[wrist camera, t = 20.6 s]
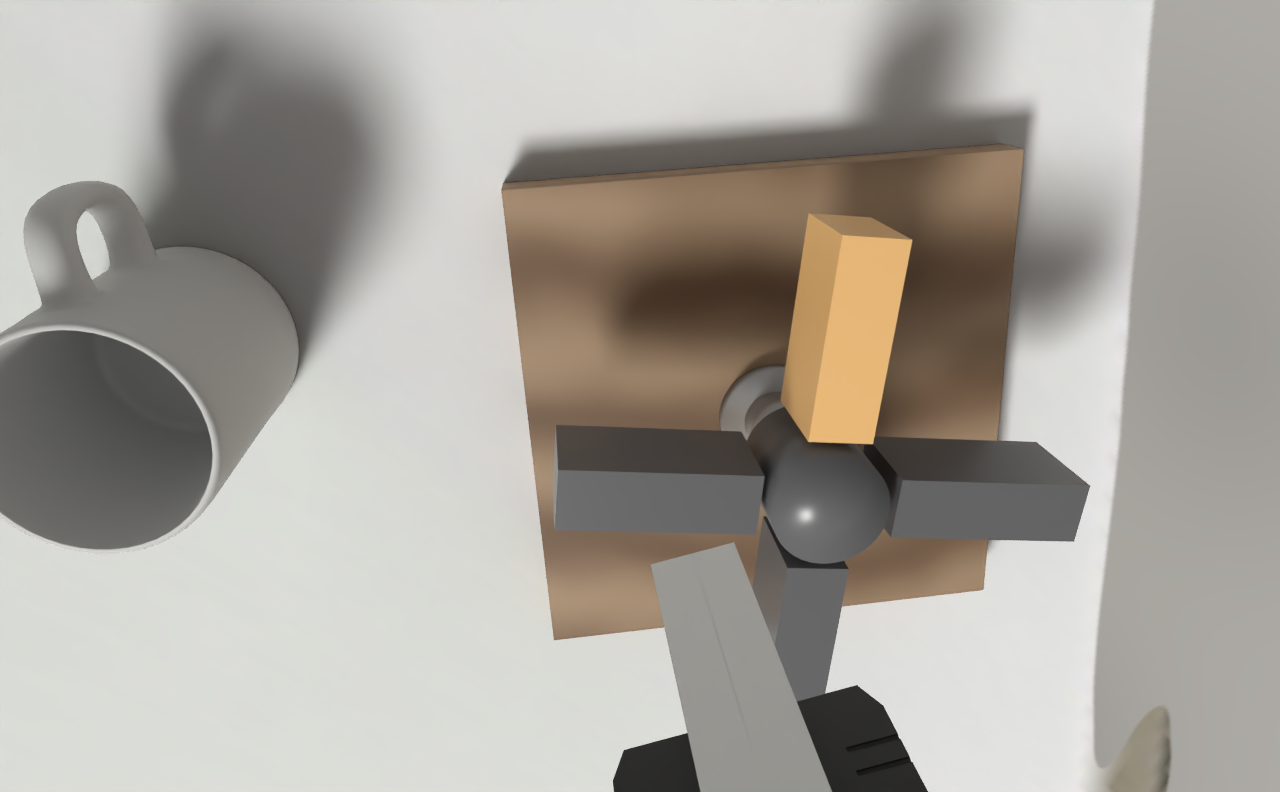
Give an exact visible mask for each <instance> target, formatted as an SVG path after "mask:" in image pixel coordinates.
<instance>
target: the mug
mask: <svg viewBox="0 0 1280 792" xmlns="http://www.w3.org/2000/svg"><path fill="white" fill-rule="evenodd" d="M84 211H88V212H89V213H90V214H91V215H92V216H93V217H94V218H95V220H96V221H97V223H98V225H99V227H100V229H101V232H102V234H103V237H104V240H105V242H106V245H107V249H108V252H109V258H110V267H109V269H108V270H107V271H106V272H104V273H103V274H101V275H100V276H98V277H96V278H95V279H93V280H92V279H91V278H90V276H89V273H88V271H87V269H86V267H85V264H84V262H83V259H82V256H81V253H80V250H79V246H78V242H77V234H76V228H77V222H78V220H79V218H80V216H81V215H82V213H83V212H84ZM24 244H25V249H26V254H27V258H28V261H29V264H30V267H31V270H32V273H33V276H34V279H35V282H36V285H37V288H38V291H39V294H40V298H41V302H42V306H41V307H40V308H39V309H38V310H36V311H34V312H33V313H31V314H30V315H28V316H26V317H25V318H24V319H22V320H21V321H19V322H18V323H17V324H15V325H13V326H12V327H10V328H8V329H7V330H5V331H4V332H2V333H1V334H0V517H1V518H2V519H3V520H5V521H6V522H8V523H9V524H10V525H12V526H13V527H15V528H17V529H18V530H20V531H22V532H24V533H26V534H27V535H29V536H31V537H34V538H36V539H38V540H41V541H43V542H45V543H48V544H51V545H54V546H57V547H61V548H64V549H69V550H74V551H78V552H86V553H95V554H115V553H124V552H132V551H136V550H141V549H145V548H148V547H151V546H154V545H156V544H159V543H162V542H164V541H166V540H168V539H169V538H171V537H173V536H175V535H177V534H178V533H180V532H181V531H183V530H184V529H186V528H187V527H188V526H189V525H190V524H191V523H193V522H194V521H195V520H196V519H197V518H198V517H199V516H200V515H201V514H202V513H203V511H204V510H205V509H206V508H207V506H208V505H209V504H210V503H211V501H212V500H213V499H214V497H215V496H216V495H217V493H218V492H219V490H220V489H221V487H222V486H223V484H224V483H225V482H226V480H227V479H228V477H229V476H230V474H231V473H232V471H233V470H234V469H235V467H236V466H237V464H238V463H239V461H240V460H241V458H242V457H243V456H244V454H245V453H246V451H247V450H248V448H249V447H250V445H251V444H252V442H253V441H254V440H255V438H256V437H257V435H258V434H259V432H260V431H261V430H262V428H263V427H264V425H265V424H266V422H267V421H268V420H269V418H270V417H271V416H272V414H273V413H274V412H275V411H276V409H277V408H278V407H279V406H280V404H281V403H282V401H283V400H284V398H285V397H286V395H287V393H288V391H289V390H290V388H291V386H292V383H293V381H294V378H295V375H296V371H297V366H298V358H299V346H298V337H297V332H296V327H295V324H294V322H293V319H292V316H291V314H290V312H289V310H288V308H287V306H286V304H285V303H284V301H283V300H282V298H281V297H280V295H279V294H278V292H277V291H276V290H275V289H274V288H273V287H272V286H271V284H270V283H269V282H268V281H267V280H265V279H264V278H263V277H262V276H261V275H260V274H259V273H257V272H256V271H255V270H253V269H252V268H250V267H249V266H248V265H246V264H244V263H242V262H240V261H239V260H237V259H235V258H232V257H230V256H228V255H225V254H223V253H219V252H216V251H212V250H209V249H203V248H197V247H167V248H161V249H157V250H154V248H153V245H152V242H151V240H150V237H149V234H148V232H147V229H146V226H145V224H144V221H143V219H142V217H141V215H140V213H139V211H138V209H137V207H136V205H135V204H134V202H133V201H132V199H131V198H130V197H129V196H128V195H127V194H126V193H125V192H124V191H123V190H122V189H121V188H119V187H117V186H115V185H112V184H108V183H104V182H100V181H82V182H76V183H71V184H67V185H63V186H61V187H58V188H56V189H54V190H52V191H50V192H48V193H47V194H45V195H44V196H43V197H41V198H40V199H38V200H37V201H36V202H35V204H34V205H33V206H32V207H31V208H30V210H29V212H28V214H27V216H26V218H25V224H24Z"/></svg>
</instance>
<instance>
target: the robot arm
mask: <svg viewBox="0 0 1280 792" xmlns="http://www.w3.org/2000/svg"><path fill="white" fill-rule="evenodd" d="M651 568H652V573H653V577H654V582H655V586H656V591H657V595H658V600H659V605H660V609H661V614H662V618H663V623H664V627H665V632H666V637H667V641H668V646H669V650H670V655H671V659H672V664H673V668H674V673H675V678H676V682H677V687H678V691H679V696H680V700H681V705H682V710H683V714H684V719H685V723H686V728H687V732H688V733H686V734H683V735H679V736H675V737H671V738H668V739H664V740H660V741H656V742H653V743H649V744H645V745H642V746H638V747H634V748H630V749H627V750H624V751H623V754H622V757H621V760H620V763H619V765H618V768H617V771H616V774H615V777H614V779H613V786H614V792H928V791H927V789H926V787H925V785H924V783H923V782H922V780H921V778H920V776H919V774H918V772H917V770H916V768H915V766H914V764H913V762H911V760H910V757H909V755H908V753H907V751H906V749H905V747H904V745H903V743H902V741H901V739H899V737H898V733H897V732H896V730H895V728H894V726H893V724H892V722H891V720H890V718H889V716H888V714H887V712H886V710H885V708H884V706H883V705H882V704H880V703H879V702H878V701H876V700H875V699H874V698H873V697H871V696H870V695H869V694H867V693H866V692H865V691H864V690H862V689H861V688H860V687H858V686H857V685H856V686H852V687H849V688H845V689H841V690H838V691H834V692H830V693H826V694H823V695H819V696H815V697H812V698H808V699H804V700H800V701H796V699H795V696H794V694H793V691H792V689H791V686H790V683H789V681H788V678H787V676H786V673H785V671H784V668H783V666H782V663H781V661H780V658H779V655H778V653H777V650H776V648H775V645H774V643H773V640H772V638H771V635H770V633H769V630H768V627H767V625H766V622H765V620H764V617H763V615H762V612H761V610H760V607H759V605H758V602H757V599H756V597H755V594H754V592H753V589H752V587H751V584H750V582H749V579H748V577H747V574H746V571H745V569H744V566H743V564H742V561H741V559H740V556H739V554H738V551H737V549H736V546H735V543H734V542H733V543H729V544H726V545H722V546H718V547H715V548H711V549H707V550H703V551H700V552H696V553H692V554H688V555H685V556H681V557H677V558H673V559H670V560H666V561H662V562H658V563H655V564H651Z"/></svg>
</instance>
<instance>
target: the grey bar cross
mask: <svg viewBox="0 0 1280 792" xmlns="http://www.w3.org/2000/svg"><path fill="white" fill-rule="evenodd" d="M911 245H912V239H910V238H908V237H906V236H904V235H903V234H901V233H899V232H897V231H895V230H893V229H892V228H890V227H888V226H886V225H884V224H882V223H881V222H879V221H877V220H875V219H873V218H871V217H858V216H843V215H828V214H814V213H809V214H808V220H807V227H806V234H805V240H804V247H803V253H802V260H801V267H800V273H799V280H798V287H797V293H796V300H795V307H794V313H793V320H792V327H791V333H790V340H789V347H788V353H787V360H786V366H785V373H784V380H783V386H782V393H781V402H782V403H783V405H784V406H785V407H782V408H780V409H777V410H775V411H773V412H771V413H770V414H768V415H767V416H765V417H764V418H763V419H762V420H761V421H760V422H759V423H758V424H757V425H756V426H755V427H754V429H753V430H752V431H751V433H750V435H749V437H748V439H747V441H746V439H745V437H744V435H743V433H742V432H741V431H714V430H686V429H659V428H631V427H603V426H576V425H556V428H555V446H554V464H553V503H554V528H555V531H602V532H649V533H697V534H744V535H756V532H757V525H758V519H759V512H760V505H762V507H763V509H764V511H765V514H766V516H763V519H762V526H761V533H760V539H759V546H758V553H757V559H756V566H755V573H754V579H753V586H752V589H753V592H754V594H755V597H756V599H757V602H758V605H759V607H760V610H761V612H762V615H763V617H764V620H765V622H766V625H767V627H768V630H769V633H770V635H771V638H772V640H773V643H774V645H775V648H776V650H777V653H778V655H779V658H780V661H781V663H782V666H783V668H784V671H785V673H786V676H787V678H788V681H789V683H790V686H791V689H792V691H793V694H794V696H795V699H796V701H800V700H804V699H808V698H812V697H815V696H819V695H823V694H825V690H826V685H827V680H828V675H829V670H830V665H831V659H832V654H833V649H834V644H835V639H836V633H837V628H838V623H839V618H840V613H841V608H842V602H843V597H844V592H845V587H846V582H847V576H848V571H849V568H848V567H847V565H846V563H845V562H844V560H847V559H849V558H852V557H854V556H856V555H858V554H859V553H861V552H862V551H864V550H865V549H866V548H868V547H869V546H870V545H871V544H872V543H873V542H874V541H875V540H876V539H877V538H878V536H879V535H880V534H881V532H882V530H883V529H885V530H886V531H887V533H888V534H889V536H890V537H891V538H933V539H981V540H1028V541H1074V539H1075V536H1076V532H1077V529H1078V526H1079V522H1080V519H1081V515H1082V512H1083V508H1084V505H1085V502H1086V498H1087V495H1088V491H1089V488H1090V485H1088V484H1087V483H1086V482H1085V481H1083V480H1082V479H1081V478H1080V477H1079V476H1077V475H1076V474H1075V473H1074V472H1072V471H1071V470H1070V469H1069V468H1067V467H1066V466H1065V465H1064V464H1063V463H1061V462H1060V461H1059V460H1058V459H1056V458H1055V457H1054V456H1053V455H1051V454H1050V453H1049V452H1048V451H1047V450H1045V449H1044V448H1043V447H1042V446H1040V445H1039V444H1038V443H1037V442H1018V441H991V440H963V439H935V438H908V437H880V436H875V431H876V426H877V421H878V416H879V411H880V405H881V400H882V395H883V390H884V385H885V380H886V374H887V369H888V364H889V359H890V354H891V348H892V343H893V338H894V333H895V328H896V323H897V317H898V312H899V307H900V302H901V297H902V291H903V286H904V281H905V276H906V271H907V266H908V260H909V255H910V250H911ZM857 444H865V445H864V451H863V452H862V451H861V449H860V448H859V447H858V445H857Z"/></svg>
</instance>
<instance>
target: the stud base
mask: <svg viewBox="0 0 1280 792" xmlns="http://www.w3.org/2000/svg"><path fill="white" fill-rule="evenodd" d="M1023 155H1024V149H1022V148H1017V147H1013V146H1009V145H1004V144H994V145H981V146H968V147H955V148H943V149H930V150H917V151H905V152H892V153H879V154H866V155H854V156H841V157H828V158H816V159H803V160H790V161H777V162H765V163H752V164H739V165H727V166H714V167H701V168H688V169H676V170H663V171H650V172H638V173H625V174H612V175H599V176H587V177H574V178H561V179H549V180H536V181H523V182H510V183H503V186H502V199H503V208H504V216H505V225H506V233H507V242H508V250H509V259H510V267H511V276H512V285H513V293H514V302H515V310H516V319H517V327H518V336H519V344H520V353H521V362H522V370H523V379H524V387H525V396H526V404H527V413H528V421H529V430H530V439H531V447H532V456H533V464H534V473H535V481H536V490H537V498H538V507H539V516H540V524H541V533H542V541H543V550H544V558H545V567H546V575H547V584H548V593H549V601H550V610H551V618H552V627H553V635H554V640H560V639H568V638H577V637H585V636H594V635H602V634H611V633H620V632H628V631H637V630H645V629H654V628H662V627H664V623H663V618H662V614H661V609H660V605H659V600H658V595H657V591H656V586H655V582H654V577H653V573H652V568H651V564H655V563H658V562H662V561H666V560H670V559H673V558H677V557H681V556H685V555H688V554H692V553H696V552H700V551H703V550H707V549H711V548H715V547H718V546H722V545H726V544H729V543H733V542H734V543H735V546H736V549H737V551H738V554H739V556H740V559H741V561H742V564H743V566H744V569H745V571H746V574H747V577H748V579H749V582H750V584H751V587H752V586H753V579H754V573H755V566H756V559H757V553H758V546H759V539H760V533H761V526H762V519H763V516H766V514H765V511H764V509H763V507H762V505H760V512H759V519H758V525H757V532H756V535H744V534H697V533H649V532H602V531H555V528H554V503H553V464H554V446H555V428H556V425H576V426H603V427H631V428H659V429H686V430H714V431H741V432H742V433H743V435H744V437H745V439H746V441H747V439H748V437H749V435H750V433H751V431H752V430H753V429H754V427H755V426H756V425H757V424H758V423H759V422H760V421H761V420H762V419H763V418H764V417H765V416H767V415H768V414H770V413H771V412H773V411H775V410H777V409H780V408H782V407H785V406H784V405H783V403H782V402H781V393H782V386H783V380H784V373H785V366H786V360H787V353H788V347H789V340H790V333H791V327H792V320H793V313H794V307H795V300H796V293H797V287H798V280H799V273H800V267H801V260H802V253H803V247H804V240H805V234H806V227H807V220H808V214H809V213H814V214H828V215H843V216H858V217H871V218H873V219H875V220H877V221H879V222H881V223H882V224H884V225H886V226H888V227H890V228H892V229H893V230H895V231H897V232H899V233H901V234H903V235H904V236H906V237H908V238H910V239H912V245H911V250H910V255H909V260H908V266H907V271H906V276H905V281H904V286H903V291H902V297H901V302H900V307H899V312H898V317H897V323H896V328H895V333H894V338H893V343H892V348H891V354H890V359H889V364H888V369H887V374H886V380H885V385H884V390H883V395H882V400H881V405H880V411H879V416H878V421H877V426H876V431H875V436H880V437H908V438H935V439H963V440H991V441H997V437H998V426H999V415H1000V404H1001V393H1002V382H1003V372H1004V361H1005V350H1006V339H1007V328H1008V318H1009V307H1010V296H1011V285H1012V274H1013V263H1014V253H1015V242H1016V231H1017V220H1018V209H1019V199H1020V188H1021V177H1022V166H1023ZM857 445H858V447H859V448H860V449H861V451H862V452H863V451H864V445H865V444H857ZM987 545H988V540H981V539H933V538H891V537H890V536H889V534H888V533H887V531H886V530H885V529H883V530H882V532H881V534H880V535H879V536H878V538H877V539H876V540H875V541H874V542H873V543H872V544H871V545H870V546H869V547H868V548H866V549H865V550H864V551H862V552H861V553H859V554H858V555H856V556H854V557H852V558H849V559H847V560H844V562H845V563H846V565H847V567H848V568H849V571H848V576H847V582H846V587H845V592H844V597H843V602H842V606H850V605H859V604H867V603H876V602H884V601H893V600H901V599H910V598H919V597H927V596H936V595H944V594H953V593H961V592H970V591H978V590H983V588H984V577H985V566H986V556H987Z"/></svg>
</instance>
